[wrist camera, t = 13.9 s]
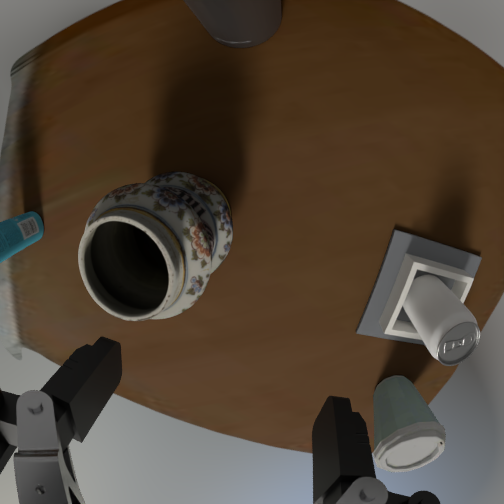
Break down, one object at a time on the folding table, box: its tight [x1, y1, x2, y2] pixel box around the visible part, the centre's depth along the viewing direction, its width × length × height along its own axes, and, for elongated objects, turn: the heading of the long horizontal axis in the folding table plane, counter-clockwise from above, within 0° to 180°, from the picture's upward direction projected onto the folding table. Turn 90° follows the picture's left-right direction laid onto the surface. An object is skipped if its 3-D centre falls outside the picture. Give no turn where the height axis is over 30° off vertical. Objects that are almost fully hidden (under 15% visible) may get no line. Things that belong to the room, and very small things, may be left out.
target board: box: [356, 229, 482, 345], centre depth 36 cm, size 15×15×4 cm
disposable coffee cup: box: [373, 375, 446, 472], centre depth 37 cm, size 11×11×15 cm
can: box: [403, 275, 480, 366], centre depth 32 cm, size 6×6×12 cm
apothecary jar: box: [78, 172, 233, 321], centre depth 30 cm, size 12×12×18 cm
